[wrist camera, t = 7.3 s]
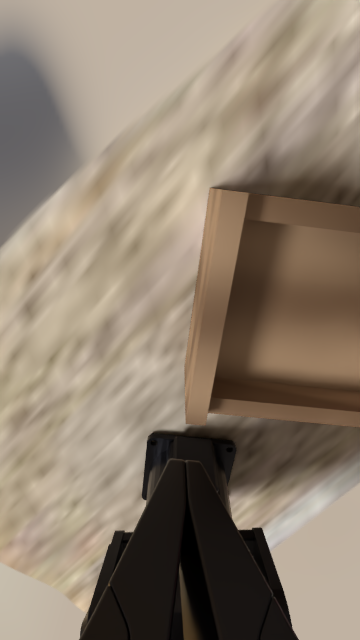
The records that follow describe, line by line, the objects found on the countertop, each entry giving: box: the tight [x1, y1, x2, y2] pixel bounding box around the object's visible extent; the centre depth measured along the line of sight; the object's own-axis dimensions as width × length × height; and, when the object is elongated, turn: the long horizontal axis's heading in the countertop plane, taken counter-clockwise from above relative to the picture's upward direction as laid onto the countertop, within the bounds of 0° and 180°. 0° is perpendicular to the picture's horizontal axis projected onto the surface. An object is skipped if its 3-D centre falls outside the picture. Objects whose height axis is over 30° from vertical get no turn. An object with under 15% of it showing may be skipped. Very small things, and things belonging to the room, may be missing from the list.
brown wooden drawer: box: [185, 188, 360, 427], centre depth 17 cm, size 11×12×6 cm
